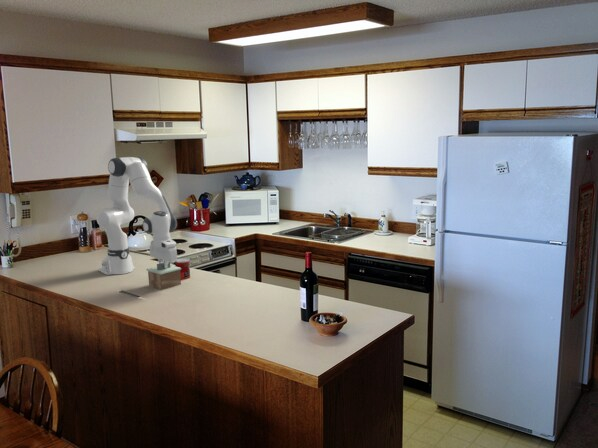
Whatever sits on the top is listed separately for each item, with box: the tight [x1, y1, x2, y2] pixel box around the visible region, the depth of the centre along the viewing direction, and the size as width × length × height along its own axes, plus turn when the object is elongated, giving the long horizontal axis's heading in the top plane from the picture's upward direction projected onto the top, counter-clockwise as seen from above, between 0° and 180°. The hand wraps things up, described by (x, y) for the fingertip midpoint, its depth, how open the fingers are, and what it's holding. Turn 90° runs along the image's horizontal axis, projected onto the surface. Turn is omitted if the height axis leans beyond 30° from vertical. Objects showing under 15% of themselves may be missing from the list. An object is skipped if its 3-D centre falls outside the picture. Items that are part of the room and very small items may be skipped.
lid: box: [146, 261, 181, 274], centre depth 293 cm, size 13×13×5 cm
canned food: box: [174, 258, 191, 280], centre depth 308 cm, size 8×8×11 cm
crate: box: [147, 270, 182, 290], centre depth 294 cm, size 12×12×9 cm
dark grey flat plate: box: [118, 290, 141, 298], centre depth 288 cm, size 16×16×1 cm
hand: (163, 267), depth 293 cm, fingers closed on lid
